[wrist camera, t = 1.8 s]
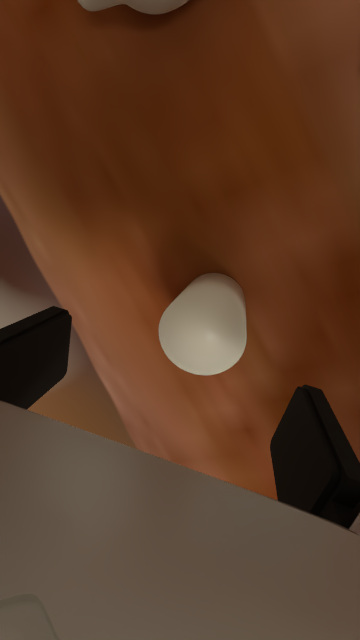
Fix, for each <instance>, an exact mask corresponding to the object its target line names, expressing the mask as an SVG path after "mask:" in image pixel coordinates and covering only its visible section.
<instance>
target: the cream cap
mask: <svg viewBox="0 0 360 640" xmlns="http://www.w3.org/2000/svg"><path fill="white" fill-rule="evenodd" d="M159 339H160V343H161V346H162V348H163V350H164V352H165V354H166V355H167V357H168V358H169V359H170V360H171V361H172V362H173V363H174V364H175V365H176V366H178V367H179V368H181V369H183V370H185V371H187V372H189V373H193V374H197V375H213V374H218V373H221V372H223V371H225V370H227V369H229V368H230V367H232V366H233V365H234V364H235V363H236V362H237V361H238V360H239V359H240V357H241V356H242V354H243V352H244V349H245V346H246V340H247V332H246V305H245V296H244V293H243V291H242V289H241V287H240V286H239V284H238V283H237V282H236V281H235V280H234V279H232V278H231V277H229V276H227V275H224V274H221V273H207V274H203V275H201V276H199V277H197V278H196V279H194V280H193V281H192V282H191V283H190V284H189V285H188V286H187V287H186V288H185V289H184V290H183V291H182V293H181V294H180V295H179V296H178V297H177V298H176V299H175V300H174V301H173V302H172V303H171V304H170V305H169V306H168V307H167V309H166V310H165V312H164V313H163V315H162V317H161V320H160V324H159Z"/></svg>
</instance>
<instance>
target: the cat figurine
mask: <svg viewBox="0 0 360 640" xmlns="http://www.w3.org/2000/svg"><path fill="white" fill-rule="evenodd" d="M188 1H189V0H78V2H79V3H80V5H81V6H82V7H83V8H84V9H86V10H88V11H100V10H103V9H107V8H110V7H113V6H116V5H120V4H126V5H128V6H129V7H131V8H133V9H135V10H137V11H140V12H143V13H147V14H163V13H167V12H170V11H172V10H175V9H177V8H178V7H180V6H182V5H183V4H185V3H186V2H188Z"/></svg>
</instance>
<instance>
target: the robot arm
mask: <svg viewBox="0 0 360 640" xmlns="http://www.w3.org/2000/svg"><path fill="white" fill-rule="evenodd" d="M71 322H72V317H71V315H69V312H68V311H67V310H65V309H61V308H58V307H55V306H52V307H50V308H48V309H45V310H43V311H41V312H38V313H36V314H34V315H32V316H29V317H27V318H25V319H22V320H20V321H18V322H16V323H13V324H11V325H8V326H6V327H4V328H1V329H0V640H360V463H359V461H358V459H357V457H356V455H355V453H354V451H353V449H352V447H351V445H350V444H349V442H348V440H347V438H346V436H345V434H344V432H343V430H342V428H341V426H340V424H339V422H338V420H337V418H336V417H335V415H334V413H333V411H332V409H331V407H330V405H329V403H328V401H327V399H326V397H325V395H324V393H323V391H322V390H321V389H318V388H315V387H311V386H308V385H303V386H302V387H297V389H296V390H295V392H294V394H293V396H292V398H291V401H290V403H289V405H288V407H287V409H286V411H285V413H284V415H283V417H282V419H281V421H280V423H279V425H278V427H277V429H276V431H275V433H274V435H273V437H272V440H271V444H270V450H271V457H272V464H273V470H274V477H275V484H276V490H277V497H278V500H275V499H272V498H269V497H267V496H264V495H261V494H259V493H256V492H253V491H250V490H248V489H245V488H242V487H239V486H237V485H234V484H231V483H229V482H226V481H223V480H220V479H218V478H215V477H212V476H209V475H207V474H204V473H201V472H198V471H196V470H193V469H190V468H187V467H185V466H182V465H179V464H176V463H173V462H171V461H168V460H165V459H162V458H160V457H157V456H154V455H151V454H148V453H146V452H143V451H140V450H137V449H135V448H132V447H129V446H126V445H123V444H121V443H118V442H115V441H112V440H109V439H107V438H104V437H101V436H98V435H96V434H93V433H90V432H87V431H85V430H82V429H79V428H76V427H73V426H71V425H68V424H65V423H62V422H60V421H57V420H54V419H51V418H48V417H45V416H43V415H40V414H37V413H34V412H31V411H29V410H27V409H28V408H29V407H30V406H31V405H32V404H34V403H35V402H36V401H37V400H38V399H39V398H40V397H42V396H43V395H44V394H45V393H46V392H47V391H49V390H50V389H51V388H52V387H53V386H54V385H55V384H57V383H58V382H59V381H60V380H61V379H62V378H63V377H64V376H65V374H66V372H67V365H68V353H69V344H70V333H71Z"/></svg>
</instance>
